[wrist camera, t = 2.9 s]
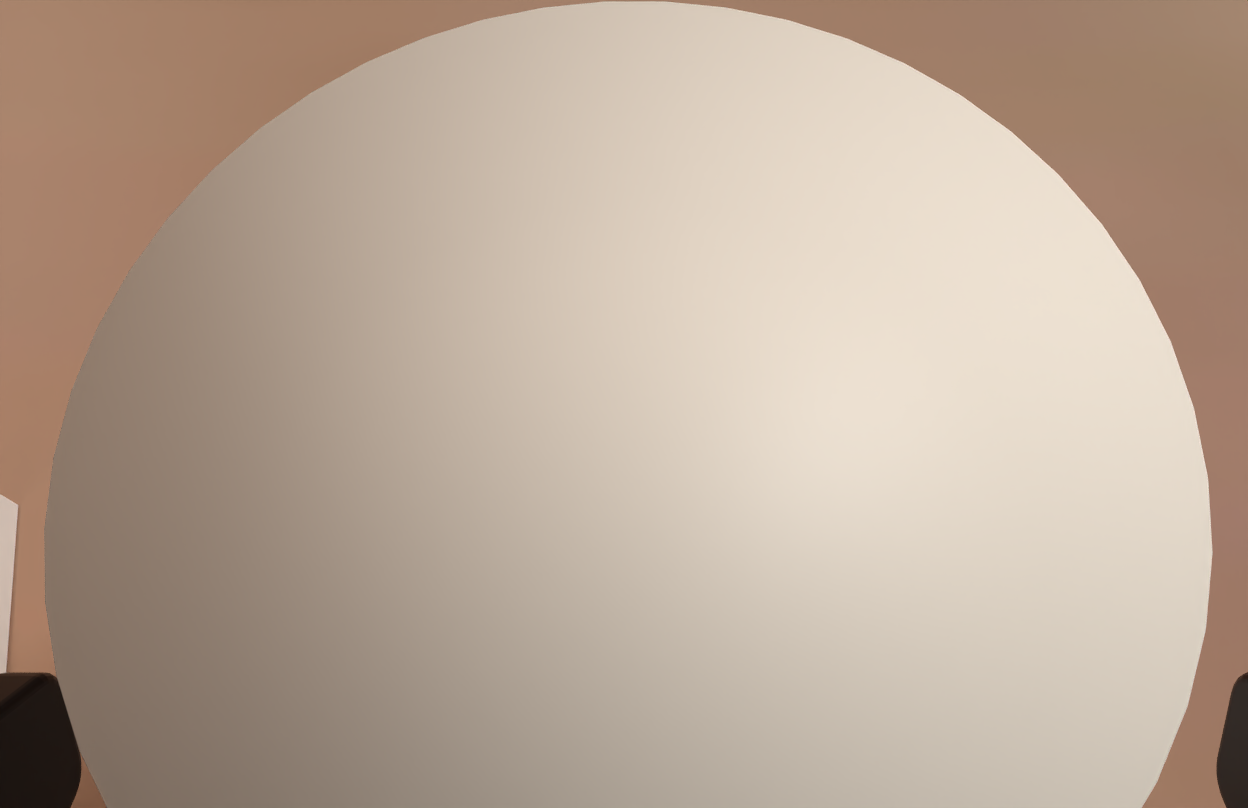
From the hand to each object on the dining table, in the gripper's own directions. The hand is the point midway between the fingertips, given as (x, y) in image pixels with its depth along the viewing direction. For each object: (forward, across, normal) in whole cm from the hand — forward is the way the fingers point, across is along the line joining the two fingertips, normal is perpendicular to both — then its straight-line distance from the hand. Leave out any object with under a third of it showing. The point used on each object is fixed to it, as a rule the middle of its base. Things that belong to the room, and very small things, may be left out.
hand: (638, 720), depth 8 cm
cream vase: (+7, 0, +6) cm, 9 cm away
